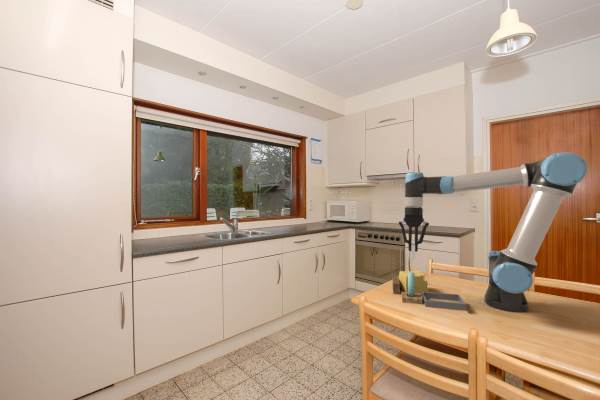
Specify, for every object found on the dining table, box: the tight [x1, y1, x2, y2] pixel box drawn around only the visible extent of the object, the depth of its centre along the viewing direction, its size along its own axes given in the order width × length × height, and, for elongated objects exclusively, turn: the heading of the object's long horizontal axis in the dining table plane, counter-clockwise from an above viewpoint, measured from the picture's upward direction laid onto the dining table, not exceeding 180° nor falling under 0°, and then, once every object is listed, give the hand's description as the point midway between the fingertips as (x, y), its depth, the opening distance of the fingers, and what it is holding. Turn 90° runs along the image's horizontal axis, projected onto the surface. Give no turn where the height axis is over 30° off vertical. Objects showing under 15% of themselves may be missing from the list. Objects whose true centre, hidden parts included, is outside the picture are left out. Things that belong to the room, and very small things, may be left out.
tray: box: [421, 291, 467, 311], centre depth 117 cm, size 15×11×4 cm
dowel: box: [408, 272, 415, 297], centre depth 122 cm, size 3×3×12 cm
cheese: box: [398, 270, 429, 296], centre depth 133 cm, size 10×11×10 cm
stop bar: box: [391, 276, 401, 295], centre depth 135 cm, size 3×12×6 cm, turn 163°
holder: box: [400, 291, 423, 305], centre depth 122 cm, size 8×8×3 cm
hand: (412, 258), depth 124 cm, fingers closed
